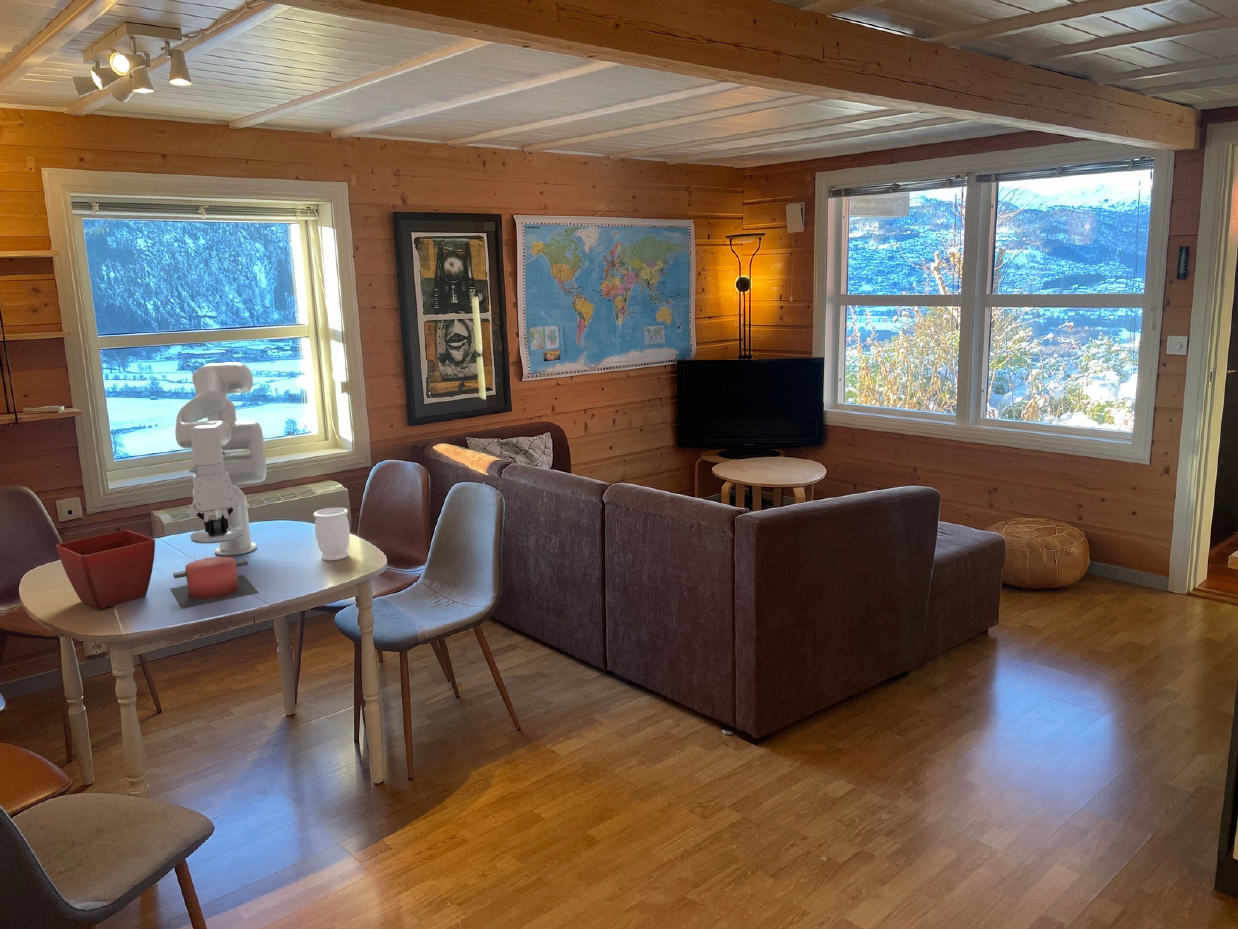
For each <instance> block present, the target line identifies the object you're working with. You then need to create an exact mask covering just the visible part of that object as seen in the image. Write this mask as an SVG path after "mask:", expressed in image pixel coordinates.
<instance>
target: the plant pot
mask: <svg viewBox="0 0 1238 929" xmlns="http://www.w3.org/2000/svg"><path fill="white" fill-rule="evenodd" d="M55 547H56V550H57V554H58V556H59V560H60V562H61V564H62V567H63V569H64V571H65V574H66V576H67V578H68V580H69V582H70V584H71V586H72V588H73V590H74V592H75V593H76V595H77V597H78V598H79V600H80V601H81V602H82V601H83V602H82V603H84V602H85V604H86V603H87V605H88V604H89V605H88V606H90V605H91V607H92V606H93V607H92V608H94V607H95V608H94V609H96V608H97V609H96V610H101V609H100V608H104V609H106V608H105V607H108V606H111V607H115V605H119V604H122V603H126V602H131V601H133V600H136V599H140V598H144V597H146V596H147V593H148V590H149V585H150V583H151V577H152V574H153V567H154V560H155V551H156V539H155V538H153V537H149V536H146V535H143V534H140V533H138V532H135V531H132V530H129V529H124V530H119V531H115V532H108V533H104V534H100V535H94V536H90V537H85V538H82V539H76V540H75V539H74V540H71V541H70V540H69V541H66V542H63V543H62V542H61V543H58V544H56V545H55ZM108 608H109V607H108Z"/></svg>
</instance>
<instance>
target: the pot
mask: <svg viewBox="0 0 1238 929" xmlns="http://www.w3.org/2000/svg"><path fill="white" fill-rule="evenodd" d="M248 565H249V562H248V560H247V559H242V560H237V561H236V559H235V558H234V557H230V556H214V557H213V556H212V557H205V558H200V559H197V560H193V561H192V562H189V563H187V564H186V565H185V566H184V568H185V569H184V570H183V571H181V570H180V571H178V572H177V571H176V572H172V576H173V578H174V579H179V578H180V579H181V578H185V577H186V584H187V585H188V593H189V596H190V597H192V598H197V599H208V598H216V597H221V596H225V595H228V594H231V593H233V592H235V591H236V590H237V589H238V588H239V587H238V578H237V576H238V572H237V571H238V570H237V568H239V567H244V566H248Z"/></svg>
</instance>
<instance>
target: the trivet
mask: <svg viewBox="0 0 1238 929" xmlns="http://www.w3.org/2000/svg"><path fill="white" fill-rule="evenodd" d="M237 578H238V587H239V588H238V589H237V590H236V591H235V592H233V593H231V594H228V595H225V596H221V597H216V598H208V599H197V598H192V597H190V596H189V593H188V585H182V586H176V587H171V588H169V590H170V592H171V593H172V595H173V597H174V599H175V600H176V603H177V604H178V606H179V607H180V609H182V610H183V609H187V608H192V607H197V606H202V605H207V604H211V603H216V602H222V601H226V600H231V599H235V598H240V597H241V598H242V597H246V596H251V595H255V594H259V591H258V589H257V588H256V587H254V585H253V584H252V582H250V581H249V580H248V578H247V577H246V575H244V574H239V575H238V574H237Z"/></svg>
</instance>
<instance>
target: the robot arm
mask: <svg viewBox="0 0 1238 929" xmlns="http://www.w3.org/2000/svg"><path fill="white" fill-rule="evenodd" d="M191 377H192V383H193V386H194V389H195V393H194V397H193V398H192V399H190V400H188V401H187V403H185V404H184V405H183V406H182V407H181V408H180V410H179V411H178V413H177V415H176V421H175V441H176V444H177V445H178V446H179V447H180V448H182V449H187V450H188V449H190V450H191V449H192V450H191V451H192V459H193V465H192V466H191V467H188V473H193V474H194V475H193V476H192V483H191V484H192V503H191V505H190V508H189V510H188V514H189V515H191V516H194V517H197V518H199V519H200V520H202V521H203V525H204V529H205V532H208V534H209V535H212V526H211V521H210V519H211V518H209V517H210V515H209V513H210V512H213V511H215V518H222V522H223V531H224V532H225V533H226V532H227V529H228V528H229V527H228V526H238V527H242V528H244V532H245V534H244V535H243V536H241V537H239V538H237V539H234V540H230V541H225V542H219V543H218V544H219V545H218V546H217V547H215V549H214V552H215V554H216V555H218V556H223V557H230V556H237V555H242V554H247V553H250V552H253V551H255V550H257V543H255V542H254V541H253V542H252V538H251V530H250V522H249V521H250V520H249V513H248V502H247V498H246V497H247V496H246V495H245V493H244V492H243V491H242V489H240V488H239V487H238V485H243V484H257V483H261V482H264V481H265V480H266V477H267V459H266V452H265V451H266V450H265V443H264V442H265V441H264V434H263V430H262V426H261V425H260V423H259V422H257V421H256V420H249V419H248V420H238V419H237V412H236V406H235V404H234V403H233V401H231V399H230V398H229V397H228V396H227V395H231V394H232V395H233V394H245V393H246V394H247V393H249V392H250V391H251V390H252V388H253V383H254V380H253V379H254V378H253V374H252V371H251V369H250V367H248V366H247V365H246V364H244V363H242V362H219V363H216V362H215V363H207V364H204V365H201V367H199V368H198V369H197V370H195V371H193V374H192V376H191ZM206 418H207V420H204V419H206ZM236 451H248V452H249V453H245V454H243V453H242V454H229V455H224V454H223V452H236Z"/></svg>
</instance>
